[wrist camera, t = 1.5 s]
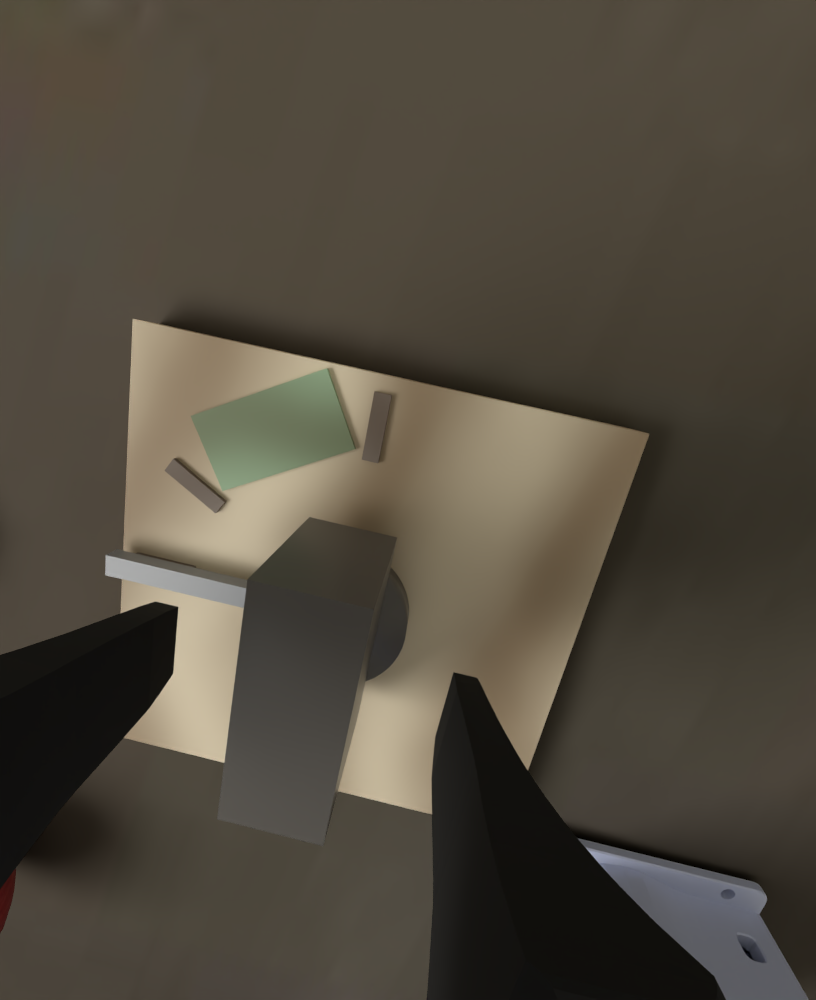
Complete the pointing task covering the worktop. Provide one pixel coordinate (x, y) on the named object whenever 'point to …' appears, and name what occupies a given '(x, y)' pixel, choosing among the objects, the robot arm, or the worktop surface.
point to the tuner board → (374, 507)
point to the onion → (6, 898)
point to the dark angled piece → (296, 665)
